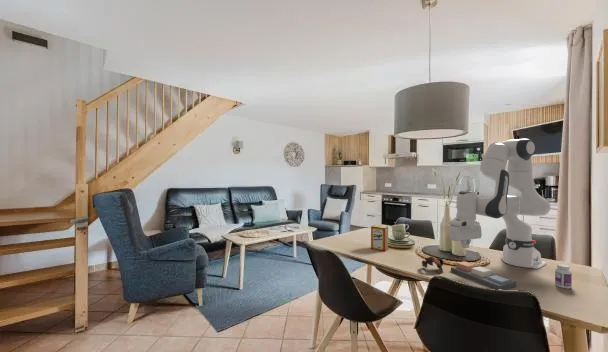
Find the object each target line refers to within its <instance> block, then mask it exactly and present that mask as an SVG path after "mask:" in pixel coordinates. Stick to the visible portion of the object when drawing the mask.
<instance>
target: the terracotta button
mask: <svg viewBox="0 0 608 352" xmlns="http://www.w3.org/2000/svg"><path fill="white" fill-rule="evenodd" d="M456 266H457V268H459V269H462V270H464V271H467V272H468V271H472V268H474V267H476V265H475V264H473V263H470V262H467V261H466V260H464V261H460V262H458V261H457V262H456Z"/></svg>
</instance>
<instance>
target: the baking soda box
mask: <svg viewBox="0 0 608 352" xmlns="http://www.w3.org/2000/svg"><path fill="white" fill-rule="evenodd" d="M370 249H371V250H373V251H379V252H387V251H388V250H389V226H388V225H381V224H374V225H372V226H371V225H370Z"/></svg>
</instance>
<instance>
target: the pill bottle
mask: <svg viewBox="0 0 608 352" xmlns="http://www.w3.org/2000/svg"><path fill="white" fill-rule="evenodd" d="M556 267H557V268H555V270H554V283H555V285H556V287H560V288H562V289H572V286H573V285H572V275H573V274H572V272H571V270H570V266H569V265H567V264H561V263H558V264H556Z"/></svg>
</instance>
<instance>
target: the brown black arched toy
mask: <svg viewBox="0 0 608 352" xmlns="http://www.w3.org/2000/svg"><path fill="white" fill-rule="evenodd" d="M433 263H434V264H435V265H436V266H437V267H436V268H438V269H437V270H436V272H437V273H438V274H439V275H441V274H442V273H444V270H443V266H444V260H443V259H442V258H441V257H437V258H435V256H430V257H427V258H425V260H424V259H423V260H422V261H421V264H422V265H421V266H422V267H424V268H428V265H430V266H434V264H433Z"/></svg>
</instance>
